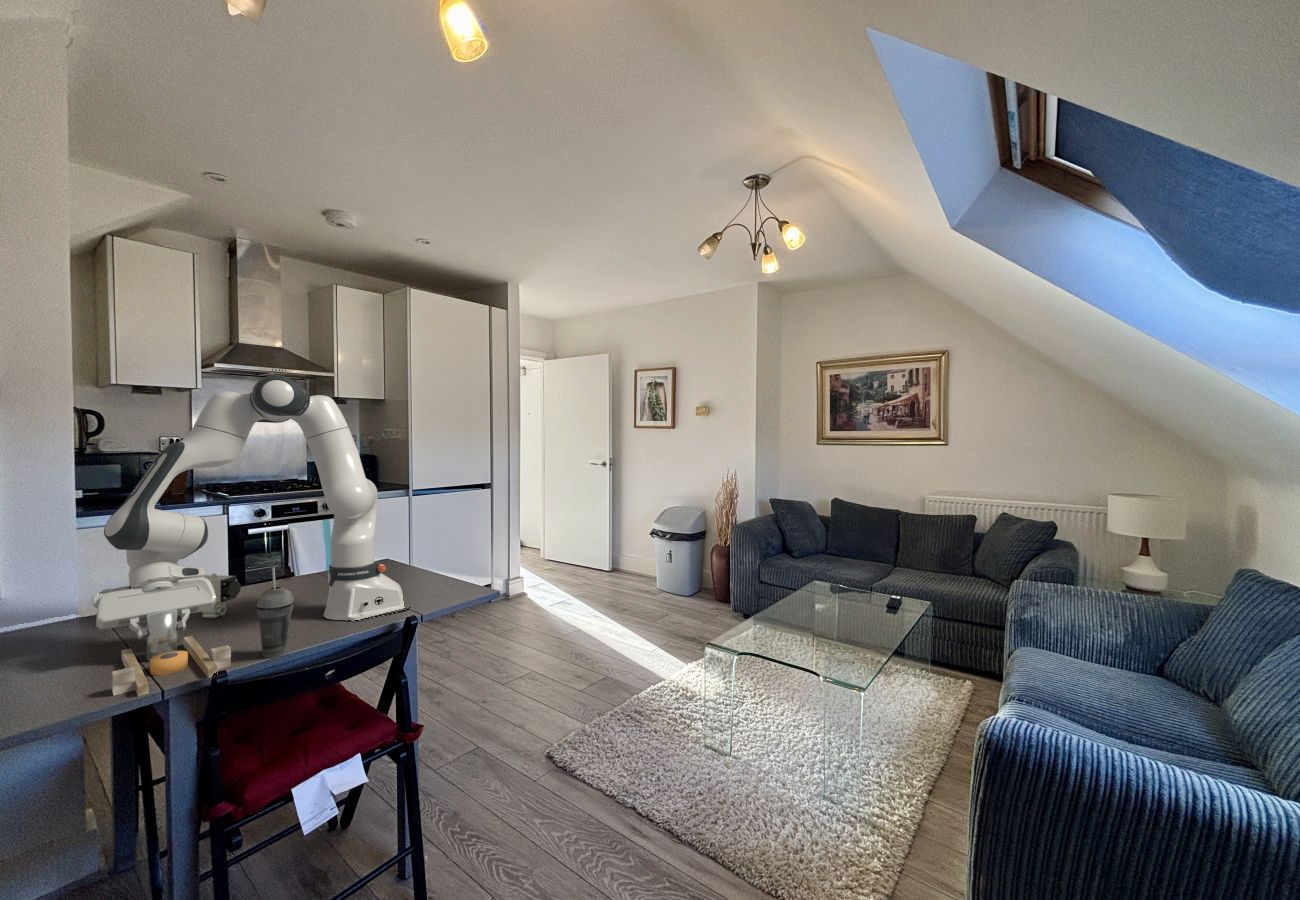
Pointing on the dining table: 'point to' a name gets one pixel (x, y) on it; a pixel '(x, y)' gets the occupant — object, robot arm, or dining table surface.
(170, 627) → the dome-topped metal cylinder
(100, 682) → the dining table surface
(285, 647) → the beverage cup
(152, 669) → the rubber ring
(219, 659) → the guide track
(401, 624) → the dining table surface
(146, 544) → the robot arm
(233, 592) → the pneumatic valve
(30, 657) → the dining table surface
